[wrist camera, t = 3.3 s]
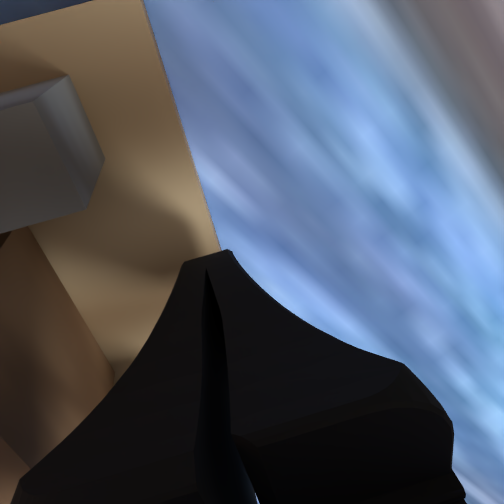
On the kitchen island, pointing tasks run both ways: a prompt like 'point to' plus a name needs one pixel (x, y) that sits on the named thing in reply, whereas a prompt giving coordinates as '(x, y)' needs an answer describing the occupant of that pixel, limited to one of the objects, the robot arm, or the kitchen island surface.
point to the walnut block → (41, 360)
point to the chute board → (131, 185)
